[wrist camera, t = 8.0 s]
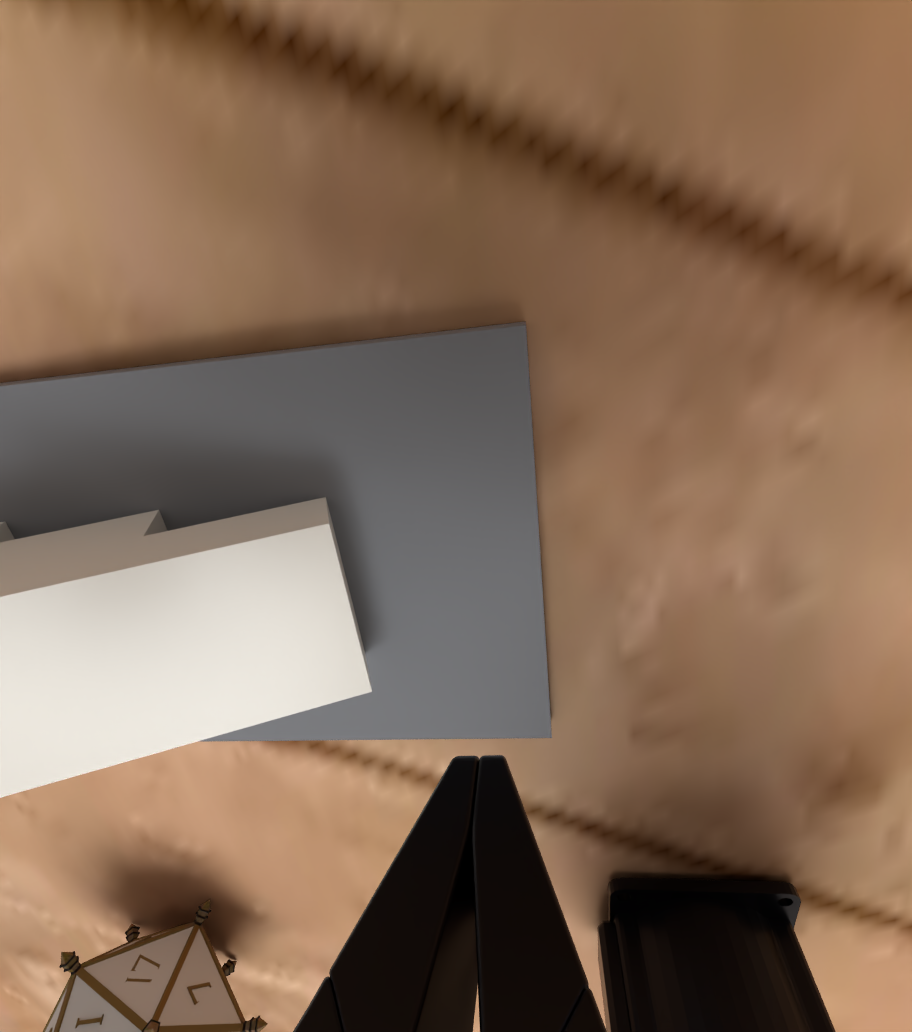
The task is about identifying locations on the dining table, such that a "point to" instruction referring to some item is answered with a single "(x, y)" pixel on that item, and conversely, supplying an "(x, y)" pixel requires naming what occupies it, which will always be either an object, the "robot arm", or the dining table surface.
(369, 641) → the slate mat
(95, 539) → the domino
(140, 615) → the domino
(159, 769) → the dining table surface
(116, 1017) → the game die
